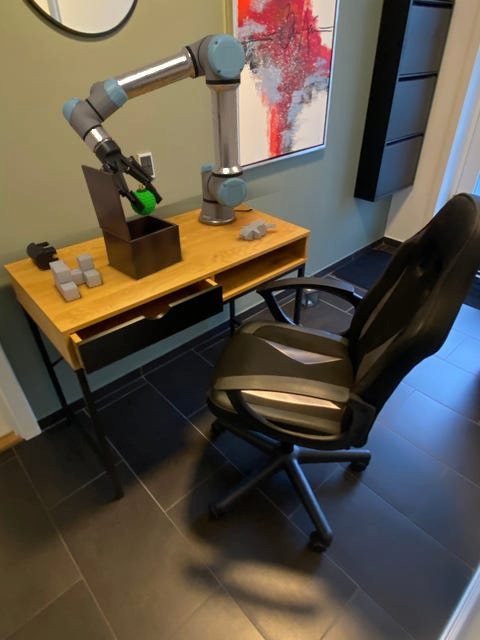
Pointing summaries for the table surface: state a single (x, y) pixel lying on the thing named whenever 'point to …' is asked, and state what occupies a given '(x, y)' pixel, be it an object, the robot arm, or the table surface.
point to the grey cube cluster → (75, 276)
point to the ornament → (144, 201)
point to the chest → (144, 246)
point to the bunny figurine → (255, 230)
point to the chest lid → (106, 201)
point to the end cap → (42, 254)
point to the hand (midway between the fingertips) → (151, 205)
